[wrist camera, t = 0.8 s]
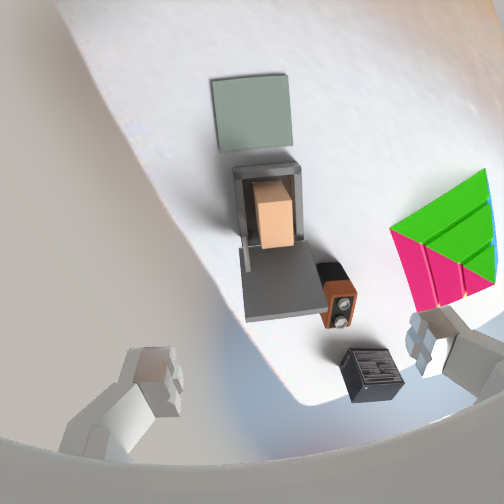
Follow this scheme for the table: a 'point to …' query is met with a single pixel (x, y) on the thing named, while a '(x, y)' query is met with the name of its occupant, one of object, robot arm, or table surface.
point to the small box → (370, 375)
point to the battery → (337, 295)
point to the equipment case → (277, 258)
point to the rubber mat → (253, 113)
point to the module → (273, 214)
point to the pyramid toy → (449, 245)
